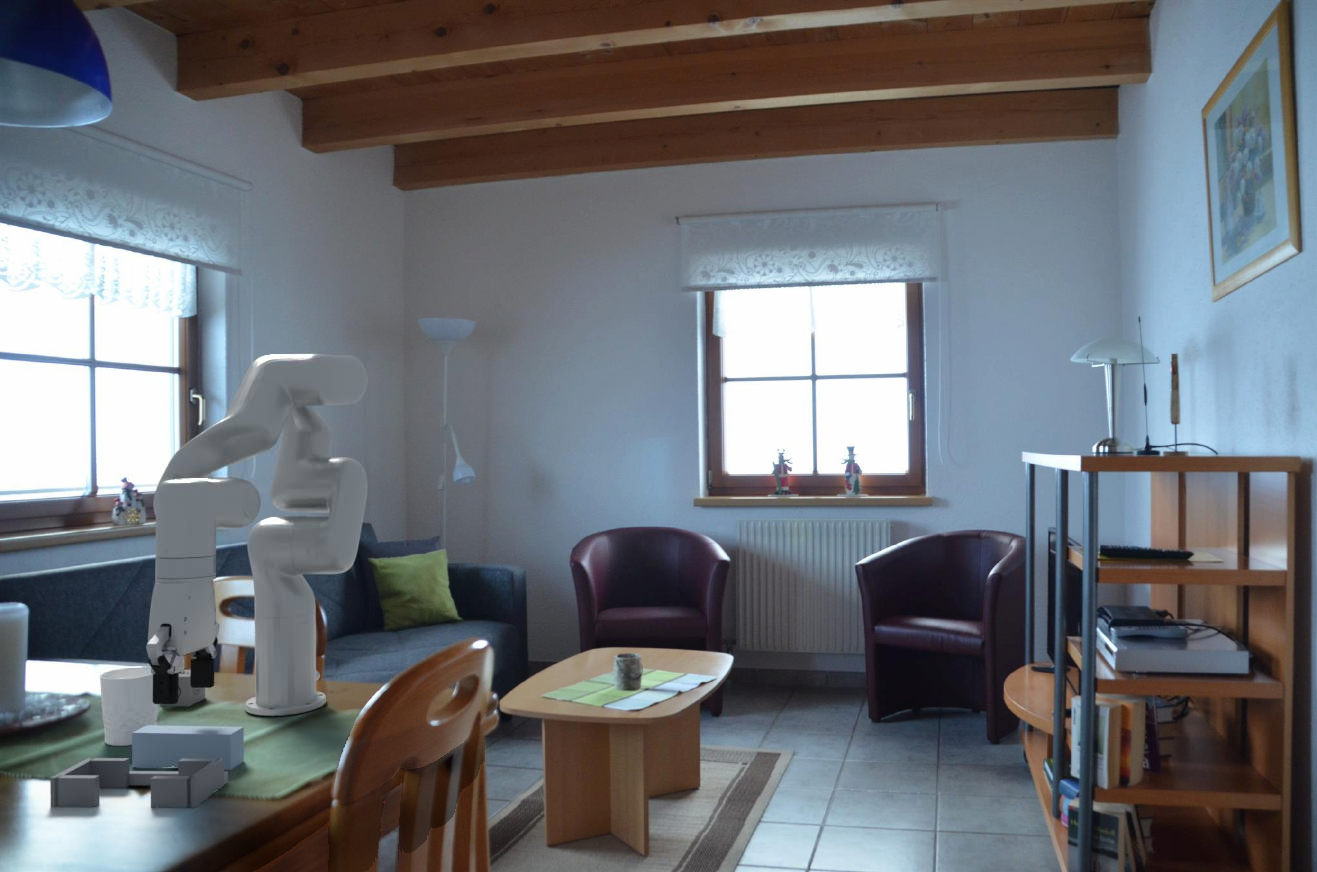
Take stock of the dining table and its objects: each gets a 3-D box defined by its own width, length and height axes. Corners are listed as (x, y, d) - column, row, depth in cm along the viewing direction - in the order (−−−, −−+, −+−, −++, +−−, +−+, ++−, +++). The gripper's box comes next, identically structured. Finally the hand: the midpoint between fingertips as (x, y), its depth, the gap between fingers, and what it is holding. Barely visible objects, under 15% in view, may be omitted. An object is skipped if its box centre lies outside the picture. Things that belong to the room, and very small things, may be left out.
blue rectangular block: (132, 769, 136) (132, 732, 136) (147, 760, 139) (147, 725, 139) (230, 771, 135) (230, 734, 135) (243, 762, 138) (243, 726, 138)
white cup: (135, 749, 144) (134, 680, 144) (87, 746, 146) (87, 677, 146) (172, 733, 152) (171, 667, 152) (126, 730, 153) (126, 665, 153)
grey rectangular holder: (92, 782, 130) (92, 755, 130) (228, 783, 130) (227, 756, 130) (50, 806, 122) (50, 777, 122) (195, 807, 121) (194, 778, 121)
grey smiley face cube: (177, 698, 172) (177, 669, 172) (205, 698, 172) (204, 669, 172) (160, 706, 167) (160, 676, 167) (188, 706, 167) (188, 676, 167)
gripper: (191, 563, 146) (189, 681, 145) (122, 576, 128) (121, 710, 128) (241, 563, 145) (240, 681, 145) (180, 576, 128) (178, 710, 127)
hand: (184, 695), depth 136 cm, fingers open, 9 cm apart
